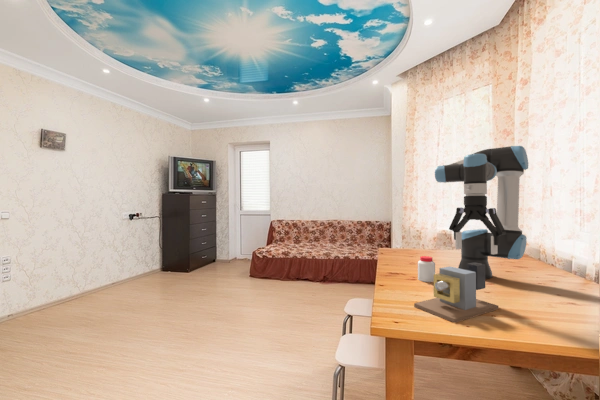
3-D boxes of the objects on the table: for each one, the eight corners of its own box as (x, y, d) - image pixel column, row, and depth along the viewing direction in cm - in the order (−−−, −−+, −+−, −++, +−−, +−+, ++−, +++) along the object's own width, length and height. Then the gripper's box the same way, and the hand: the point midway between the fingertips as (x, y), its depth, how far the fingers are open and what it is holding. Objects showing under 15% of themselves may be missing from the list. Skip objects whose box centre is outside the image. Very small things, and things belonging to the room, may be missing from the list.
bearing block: (456, 295, 119) (456, 262, 119) (498, 309, 104) (498, 271, 104) (414, 306, 108) (413, 269, 108) (454, 322, 94) (454, 280, 93)
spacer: (439, 295, 108) (439, 273, 108) (459, 301, 101) (459, 278, 101) (433, 296, 107) (433, 274, 107) (454, 303, 100) (453, 279, 99)
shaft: (474, 285, 114) (474, 262, 114) (485, 288, 111) (485, 264, 111) (433, 294, 104) (433, 269, 104) (443, 298, 100) (443, 272, 100)
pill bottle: (437, 282, 138) (436, 259, 138) (419, 281, 139) (419, 258, 139) (433, 278, 145) (432, 255, 145) (416, 277, 147) (416, 255, 147)
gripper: (439, 195, 121) (439, 247, 121) (504, 194, 98) (505, 257, 98) (451, 195, 124) (451, 245, 124) (517, 194, 102) (517, 255, 102)
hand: (475, 251), depth 111 cm, fingers open, 13 cm apart
